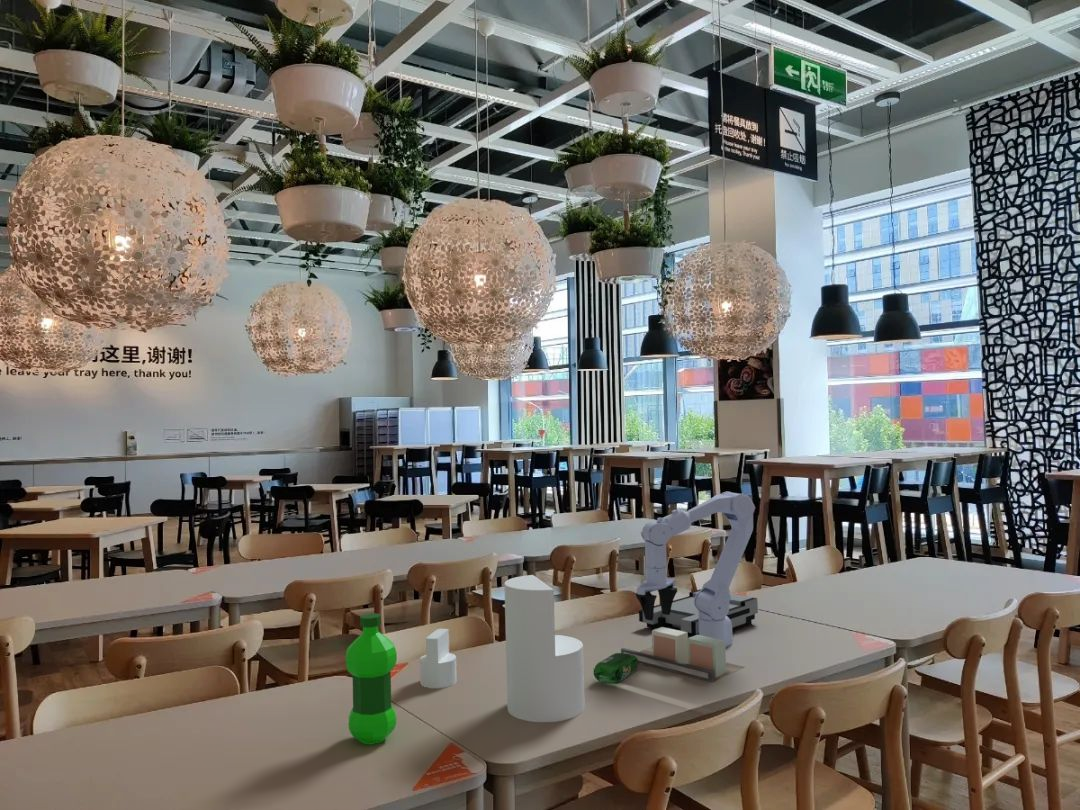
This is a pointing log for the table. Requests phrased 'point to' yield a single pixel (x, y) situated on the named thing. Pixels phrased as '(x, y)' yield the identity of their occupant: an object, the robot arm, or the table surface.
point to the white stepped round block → (540, 656)
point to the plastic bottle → (371, 682)
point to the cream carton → (670, 644)
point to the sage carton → (707, 653)
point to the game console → (688, 615)
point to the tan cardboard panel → (679, 665)
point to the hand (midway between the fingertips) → (657, 616)
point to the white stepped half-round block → (438, 661)
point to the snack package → (615, 668)
